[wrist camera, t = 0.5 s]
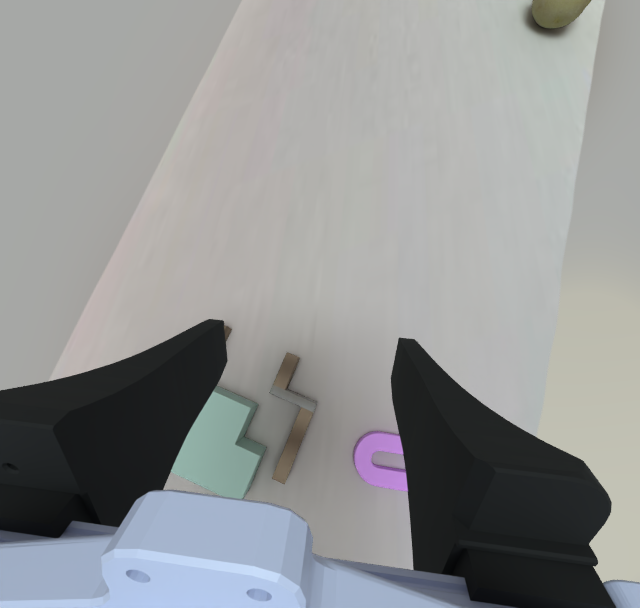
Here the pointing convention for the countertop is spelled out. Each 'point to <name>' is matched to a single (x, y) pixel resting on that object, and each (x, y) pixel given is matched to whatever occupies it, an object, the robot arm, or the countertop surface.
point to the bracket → (377, 473)
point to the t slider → (221, 446)
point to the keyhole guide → (302, 418)
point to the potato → (557, 11)
